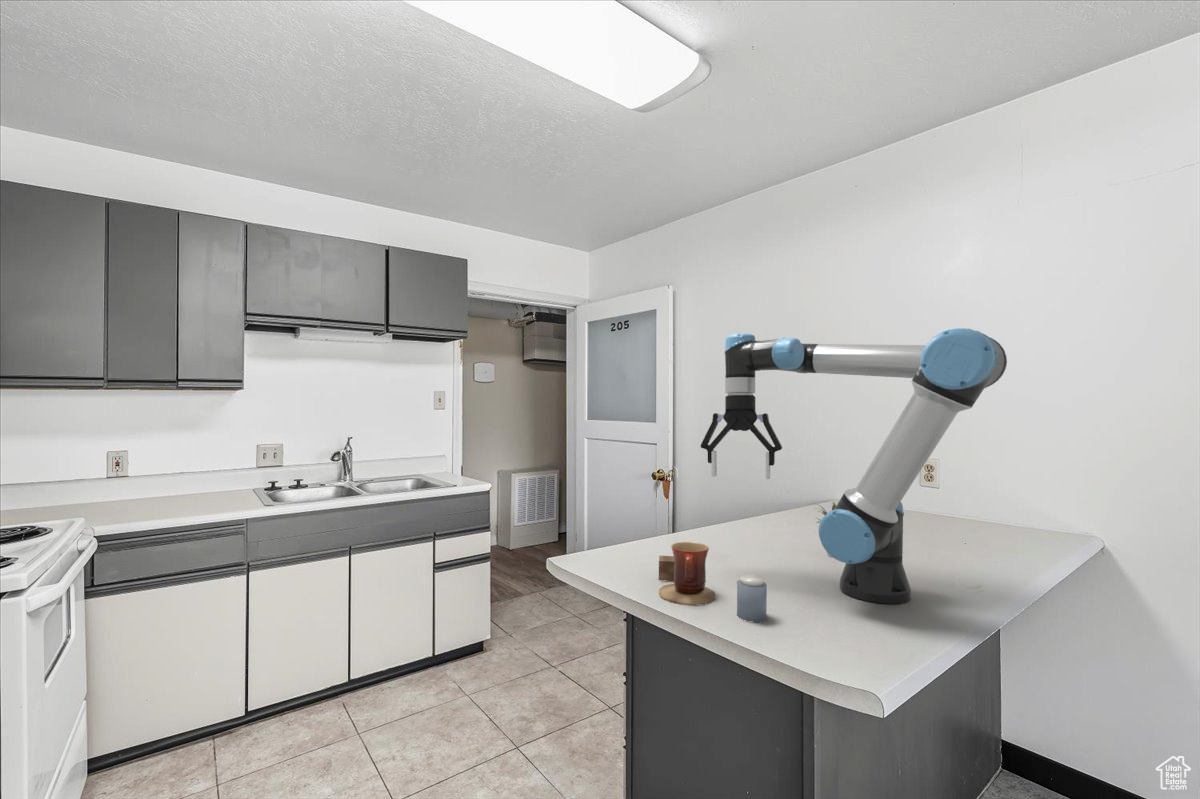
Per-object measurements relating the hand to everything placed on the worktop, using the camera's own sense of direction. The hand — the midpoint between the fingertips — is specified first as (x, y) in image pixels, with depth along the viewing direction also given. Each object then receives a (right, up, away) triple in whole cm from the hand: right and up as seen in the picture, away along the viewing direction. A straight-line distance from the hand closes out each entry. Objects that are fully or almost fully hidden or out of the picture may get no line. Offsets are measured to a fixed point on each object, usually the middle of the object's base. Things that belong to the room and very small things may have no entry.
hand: (740, 477), depth 143 cm
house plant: (+34, -27, +23) cm, 49 cm away
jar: (-4, -26, -26) cm, 37 cm away
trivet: (-16, -25, -14) cm, 33 cm away
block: (-19, -26, -1) cm, 32 cm away
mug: (-15, -25, -14) cm, 32 cm away
